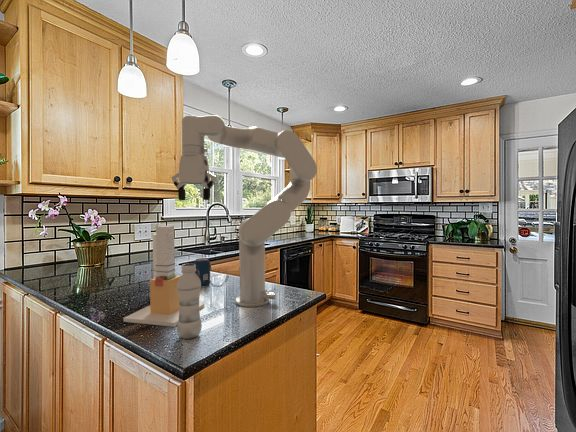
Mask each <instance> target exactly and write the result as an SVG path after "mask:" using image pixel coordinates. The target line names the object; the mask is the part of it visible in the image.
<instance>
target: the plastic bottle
mask: <svg viewBox="0 0 576 432" xmlns="http://www.w3.org/2000/svg"><path fill="white" fill-rule="evenodd" d="M195 271H196V265H195V264H194V263H185V264H181V273H182V275H180V276H181V277H180V279H179V280H178V283H177V291H178V297H179V321H178V325H177V326H176V330H177V336H178V337H179V338H180V339H183V340H187V339H188V340H191V339H194V338H196V337H198V336H199V335H200V334H201V332H202V327H203V326H202V324H203V323H202V320H201V313H200V310H199V303H200V296H201V290H202V287H201V281H200V279H199V277H198V276H197V275H196V274H195Z"/></svg>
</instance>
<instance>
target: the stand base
mask: <svg viewBox="0 0 576 432" xmlns="http://www.w3.org/2000/svg"><path fill="white" fill-rule="evenodd" d="M181 276H182V275H176V277H174V278H172V279H169V280H164V277H157V278H151V279H150V280H149V295H150V296H149V298H150V299H149V301H150V303H149V305H147V306H145V307H143V308H141V309H139V310H137V311H134V312H132V313H131V314H129V315H126V316H125V317H123V319H122V320H123V323H124V322H125V323H132V324H143V325H152V326H153V325H155V326H164V327H174V328H175V327H177V326H178V321H179V297H178V291H177V283H178V280H179V279H180V277H181ZM203 308H205V303H202V302H199V311H200V310H202V309H203Z"/></svg>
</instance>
